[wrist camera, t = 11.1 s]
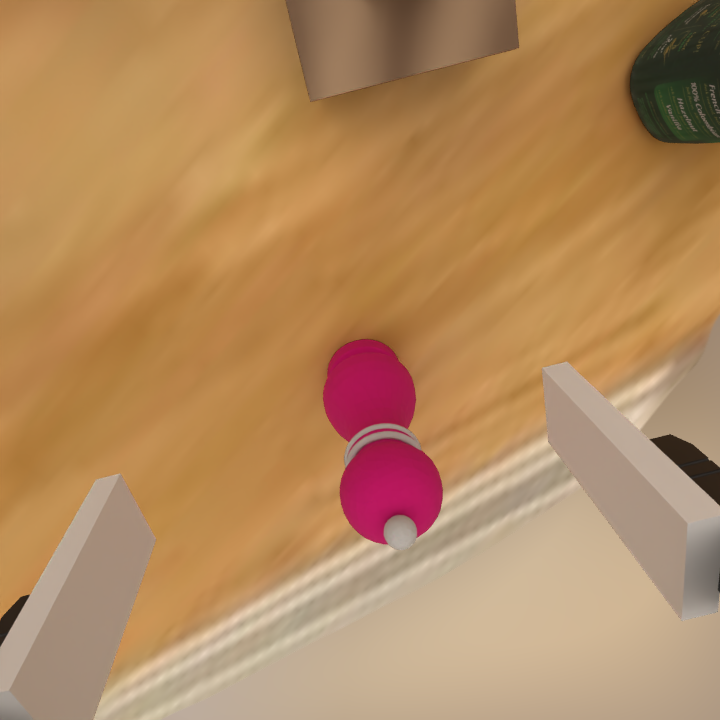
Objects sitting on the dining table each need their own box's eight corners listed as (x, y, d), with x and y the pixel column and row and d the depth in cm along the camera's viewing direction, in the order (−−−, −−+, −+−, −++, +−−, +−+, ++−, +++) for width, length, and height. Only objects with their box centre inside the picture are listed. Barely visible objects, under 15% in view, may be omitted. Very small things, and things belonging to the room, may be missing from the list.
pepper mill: (412, 396, 46) (481, 575, 28) (334, 417, 47) (352, 608, 29) (395, 323, 43) (460, 472, 25) (311, 346, 43) (315, 510, 25)
